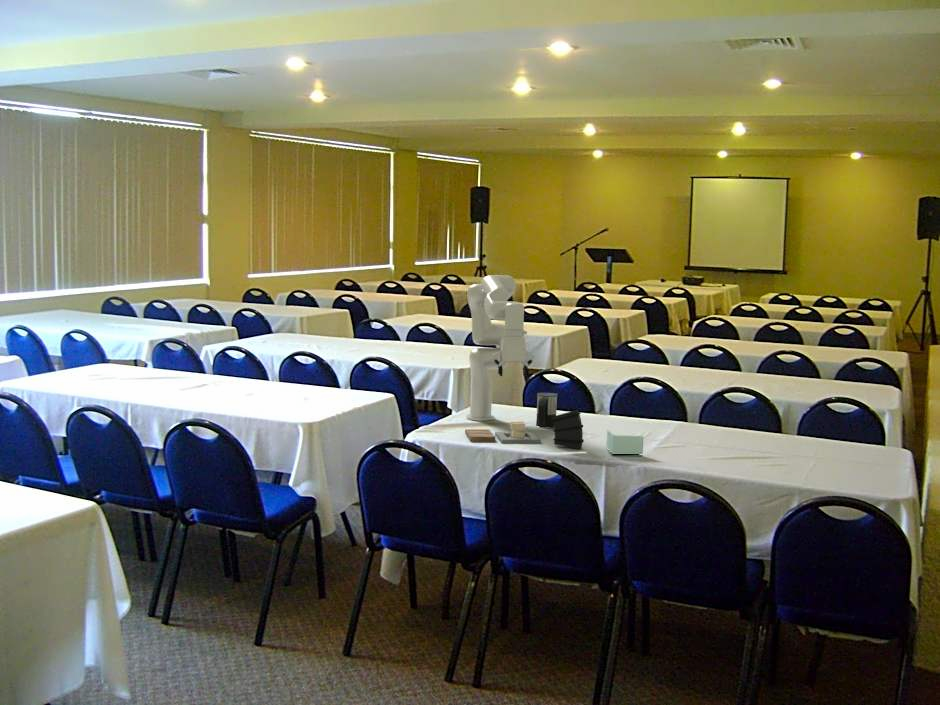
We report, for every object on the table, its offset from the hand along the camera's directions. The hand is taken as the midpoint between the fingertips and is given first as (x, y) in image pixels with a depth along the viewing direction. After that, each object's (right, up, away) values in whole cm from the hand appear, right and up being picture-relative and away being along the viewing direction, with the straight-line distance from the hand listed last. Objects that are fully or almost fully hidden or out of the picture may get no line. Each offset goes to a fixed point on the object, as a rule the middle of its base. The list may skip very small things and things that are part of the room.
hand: (512, 376), depth 408 cm
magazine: (+24, -29, -9) cm, 39 cm away
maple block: (+2, -26, +6) cm, 27 cm away
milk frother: (+19, -24, +31) cm, 44 cm away
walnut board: (-13, -26, +6) cm, 29 cm away
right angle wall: (+43, -30, -11) cm, 54 cm away
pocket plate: (+2, -26, +6) cm, 27 cm away
